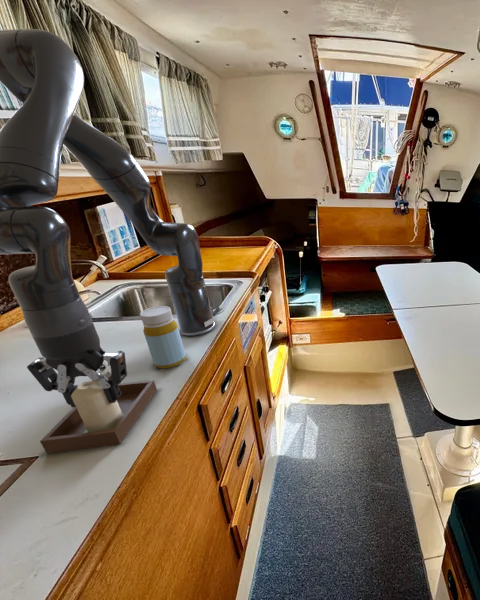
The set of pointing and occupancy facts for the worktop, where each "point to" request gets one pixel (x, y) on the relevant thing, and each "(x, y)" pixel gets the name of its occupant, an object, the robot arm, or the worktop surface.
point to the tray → (73, 436)
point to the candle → (95, 407)
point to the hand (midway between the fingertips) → (96, 401)
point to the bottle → (162, 337)
